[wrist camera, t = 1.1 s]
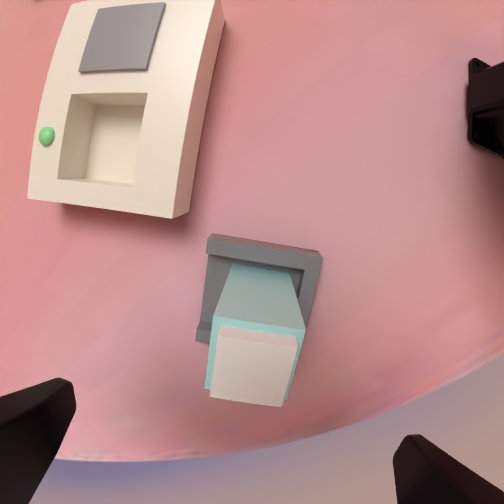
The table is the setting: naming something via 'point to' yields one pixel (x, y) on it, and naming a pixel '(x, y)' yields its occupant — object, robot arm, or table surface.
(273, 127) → the table surface
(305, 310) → the holster
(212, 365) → the plug
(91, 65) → the port block
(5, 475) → the robot arm
